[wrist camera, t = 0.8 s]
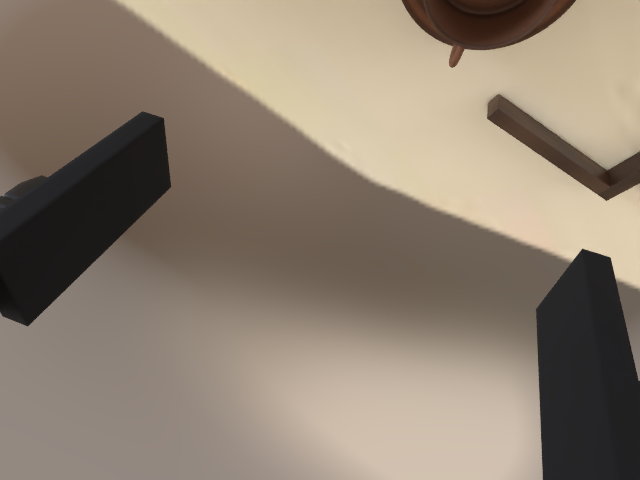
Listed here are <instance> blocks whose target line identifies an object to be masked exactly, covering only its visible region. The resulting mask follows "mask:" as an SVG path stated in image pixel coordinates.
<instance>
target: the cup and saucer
mask: <svg viewBox="0 0 640 480" xmlns="http://www.w3.org/2000/svg"><path fill="white" fill-rule="evenodd" d="M575 1H576V0H402V2H403V4H404V6H405V8H406V9H407V11H408V13H409V14H410V16H411V17H412V18H413V20H414V21H415V22H416V23H417V24H418V25H419V26H420V27H421V28H422V29H423V30H424V31H425V32H427V33H428V34H429V35H431V36H432V37H434V38H435V39H437V40H439V41H441V42H443V43H446V44H448V45H451V46H453V48H452V51H451V55H450V59H449V66H450V67H455V66H456V65H457V63H458V62H459V60H460V58H461V56H462V54H463V51H464V49H471V50H490V49H496V48H502V47H506V46H509V45H513V44H516V43H518V42H521V41H523V40H525V39H528V38H530V37H532V36H534V35H535V34H537V33H539V32H541V31H542V30H544V29H545V28H547V27H548V26H549V25H551V24H552V23H553V22H555V21H556V20H557V19H558V18H559V17H561V16H562V15H563V14H564V13H565V12H566V11H567V10H568V9H569V8H570V7H571V6H572V5H573V3H574V2H575Z"/></svg>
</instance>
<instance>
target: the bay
mask: <svg viewBox="0 0 640 480" xmlns="http://www.w3.org/2000/svg"><path fill="white" fill-rule="evenodd" d="M487 119H489V120H490V121H491V122H493V123H494V124H496V125H497V126H499V127H500V128H502V129H503V130H505V131H506V132H507V133H509V134H510V135H512V136H513V137H515V138H516V139H518V140H519V141H520V142H522V143H523V144H525V145H526V146H528V147H529V148H531V149H532V150H534V151H535V152H536V153H538V154H539V155H541V156H542V157H544V158H545V159H547V160H548V161H550V162H551V163H552V164H554V165H555V166H557V167H558V168H560V169H561V170H563V171H564V172H566V173H567V174H568V175H570V176H571V177H573V178H574V179H576V180H577V181H579V182H580V183H582V184H583V185H584V186H586V187H587V188H589V189H590V190H592V191H593V192H595V193H596V194H598V195H599V196H600V197H602V198H603V199H605V200H606V201H607V200H609V199H611V198H613V197H615V196H617V195H618V194H620V193H622V192H624V191H626V190H628V189H630V188H632V187H633V186H635V185H637V184H639V183H640V152H639V153H638V154H636V155H634V156H633V157H631V158H629V159H627V160H626V161H624V162H622V163H621V164H619V165H617V166H615V167H614V168H612V169H610V170H609V171H606V170H605V169H603V168H602V167H600V166H599V165H598V164H596V163H595V162H593V161H592V160H591V159H589V158H588V157H586V156H585V155H584V154H582V153H581V152H579V151H578V150H577V149H575V148H574V147H572V146H571V145H570V144H568V143H567V142H565V141H564V140H562V139H561V138H560V137H558V136H557V135H555V134H554V133H553V132H551V131H550V130H548V129H547V128H546V127H544V126H543V125H541V124H540V123H539V122H537V121H536V120H534V119H533V118H532V117H530V116H529V115H527V114H526V113H525V112H523V111H522V110H520V109H519V108H517V107H516V106H515V105H513V104H512V103H510V102H509V101H508V100H506V99H505V98H503V97H502V96H501V95H499V94H498V95H497V96H496V97H495V98H494V99H493V100H492V101H491V102H489V103H488V111H487Z"/></svg>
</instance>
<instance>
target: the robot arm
mask: <svg viewBox="0 0 640 480" xmlns="http://www.w3.org/2000/svg"><path fill="white" fill-rule="evenodd" d="M170 187H171V182H170V173H169V164H168V154H167V145H166V136H165V126H164V118H161V117H158V116H155V115H152V114H149V113H146V112H141V113H140V114H138V115H137V116H135V117H134V118H132V119H131V120H130V121H128V122H127V123H125V124H124V125H123V126H121V127H120V128H118V129H117V130H115V131H114V132H112V133H111V134H110V135H108V136H107V137H105V138H104V139H102V140H101V141H100V142H98V143H97V144H95V145H94V146H92V147H91V148H90V149H88V150H87V151H85V152H84V153H82V154H81V155H80V156H78V157H77V158H75V159H74V160H72V161H71V162H70V163H68V164H67V165H65V166H64V167H62V168H61V169H59V170H58V171H57V172H55V173H54V174H52V175H51V176H49V177H45V176H39V177H36V178H33V179H30V180H28V181H25V182H22V183H20V184H18V185H17V186H15V187H14V188H13V189H11V190H10V191H8V192H7V193H5V195H4V196H1V197H0V312H1V314H2V316H4V317H6V318H8V319H11V320H13V321H16V322H19V323H21V324H23V325H26V326H29V325H30V324H31V323H32V322H33V321H34V320H35V319H36V318H37V317H38V316H39V315H40V314H41V313H42V312H43V311H44V310H45V309H46V308H47V307H48V306H49V305H50V304H51V303H52V302H53V301H54V300H55V299H56V298H57V297H59V296H60V295H61V293H63V292H64V291H65V290H66V289H67V288H68V287H69V285H71V284H72V283H73V282H74V281H75V280H76V279H77V278H78V277H79V276H80V275H81V274H82V273H83V272H84V271H85V270H86V269H87V268H88V267H89V266H90V265H91V264H92V263H93V262H94V261H95V260H96V259H97V258H99V257H100V256H101V255H102V254H103V253H104V252H105V251H106V250H107V249H108V248H109V247H110V246H111V245H112V244H113V243H114V242H115V241H116V240H117V239H118V238H119V237H120V236H121V235H122V234H123V233H124V232H125V231H126V230H127V229H128V228H129V227H130V226H131V225H132V224H133V223H134V222H136V220H137V219H138V218H140V216H142V215H143V214H144V213H145V212H146V211H147V210H148V209H149V208H150V207H151V206H152V205H153V204H154V203H155V202H156V201H157V200H158V199H159V198H160V197H161V196H162V195H163V194H164V193H165V192H166V191H167V190H168V189H169V188H170ZM536 314H537V316H536V317H537V342H538V366H539V390H540V416H541V441H542V464H543V465H542V466H543V480H640V381H638V376H637V372H636V368H635V363H634V359H633V354H632V351H631V346H630V341H629V337H628V332H627V328H626V324H625V319H624V315H623V310H622V306H621V302H620V297H619V293H618V288H617V284H616V280H615V275H614V271H613V266H612V262H611V258H610V257H607V256H604V255H601V254H598V253H594V252H591V251H588V250H585V249H582V250H581V251H580V252H579V254H578V255H577V256H576V258H575V259H574V260H573V262H572V263H571V264H570V266H569V267H568V268H567V269H566V271H565V272H564V274H563V275H562V276H561V277H560V279H559V280H558V281H557V283H556V284H555V285H554V287H553V288H552V289H551V291H550V292H549V293H548V294H547V296H546V297H545V298H544V300H543V301H542V302H541V304H540V305H539V306H538V308H537V309H536Z"/></svg>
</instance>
